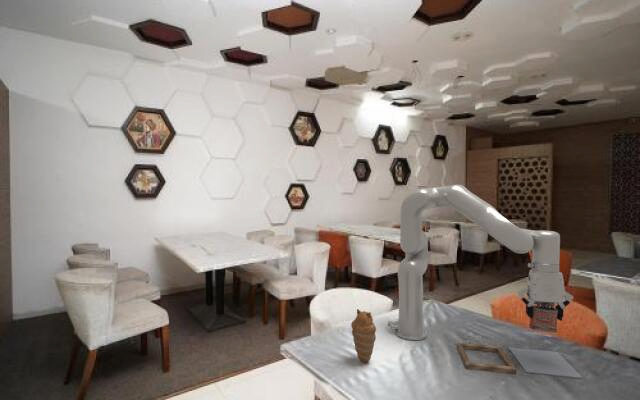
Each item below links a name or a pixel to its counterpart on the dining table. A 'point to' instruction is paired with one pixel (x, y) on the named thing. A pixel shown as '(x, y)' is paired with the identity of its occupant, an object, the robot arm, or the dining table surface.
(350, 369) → the dining table surface
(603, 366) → the dining table surface
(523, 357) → the pad
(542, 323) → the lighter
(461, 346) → the picture frame
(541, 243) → the robot arm
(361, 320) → the cat ice cream
